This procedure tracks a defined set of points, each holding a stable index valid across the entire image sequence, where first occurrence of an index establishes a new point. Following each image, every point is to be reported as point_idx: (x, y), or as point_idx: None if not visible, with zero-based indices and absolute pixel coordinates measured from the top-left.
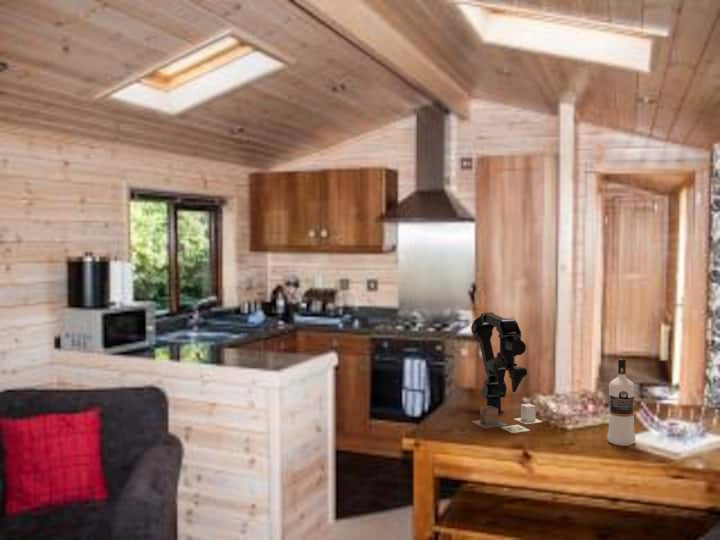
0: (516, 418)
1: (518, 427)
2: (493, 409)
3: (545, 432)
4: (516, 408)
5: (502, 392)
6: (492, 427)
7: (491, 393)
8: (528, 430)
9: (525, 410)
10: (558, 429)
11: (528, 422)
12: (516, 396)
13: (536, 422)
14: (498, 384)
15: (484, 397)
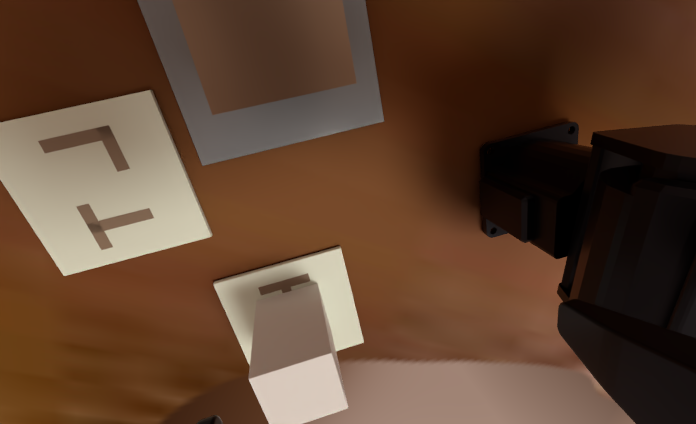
0: (343, 264)
1: (137, 220)
2: (187, 43)
3: (41, 346)
4: (522, 312)
5: (572, 296)
6: (146, 18)
7: (600, 185)
8: (59, 263)
9: (271, 346)
10: (112, 415)
11: (248, 306)
12: None
13: (243, 345)
14: (673, 315)
15: (630, 129)
